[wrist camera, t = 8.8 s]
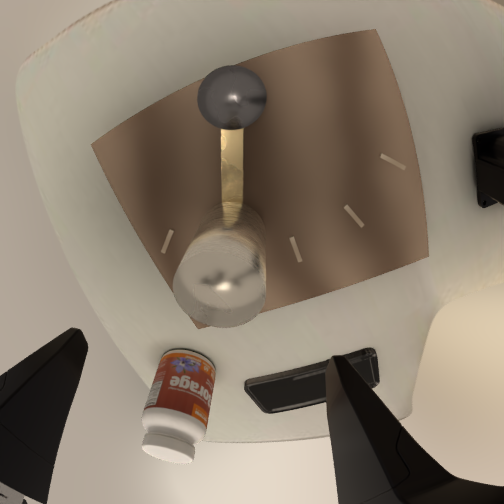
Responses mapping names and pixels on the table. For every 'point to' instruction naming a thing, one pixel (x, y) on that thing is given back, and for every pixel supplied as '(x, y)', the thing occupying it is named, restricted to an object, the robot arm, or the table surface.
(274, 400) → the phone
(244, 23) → the table surface
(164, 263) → the wooden serving board
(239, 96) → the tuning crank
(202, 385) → the pill bottle
